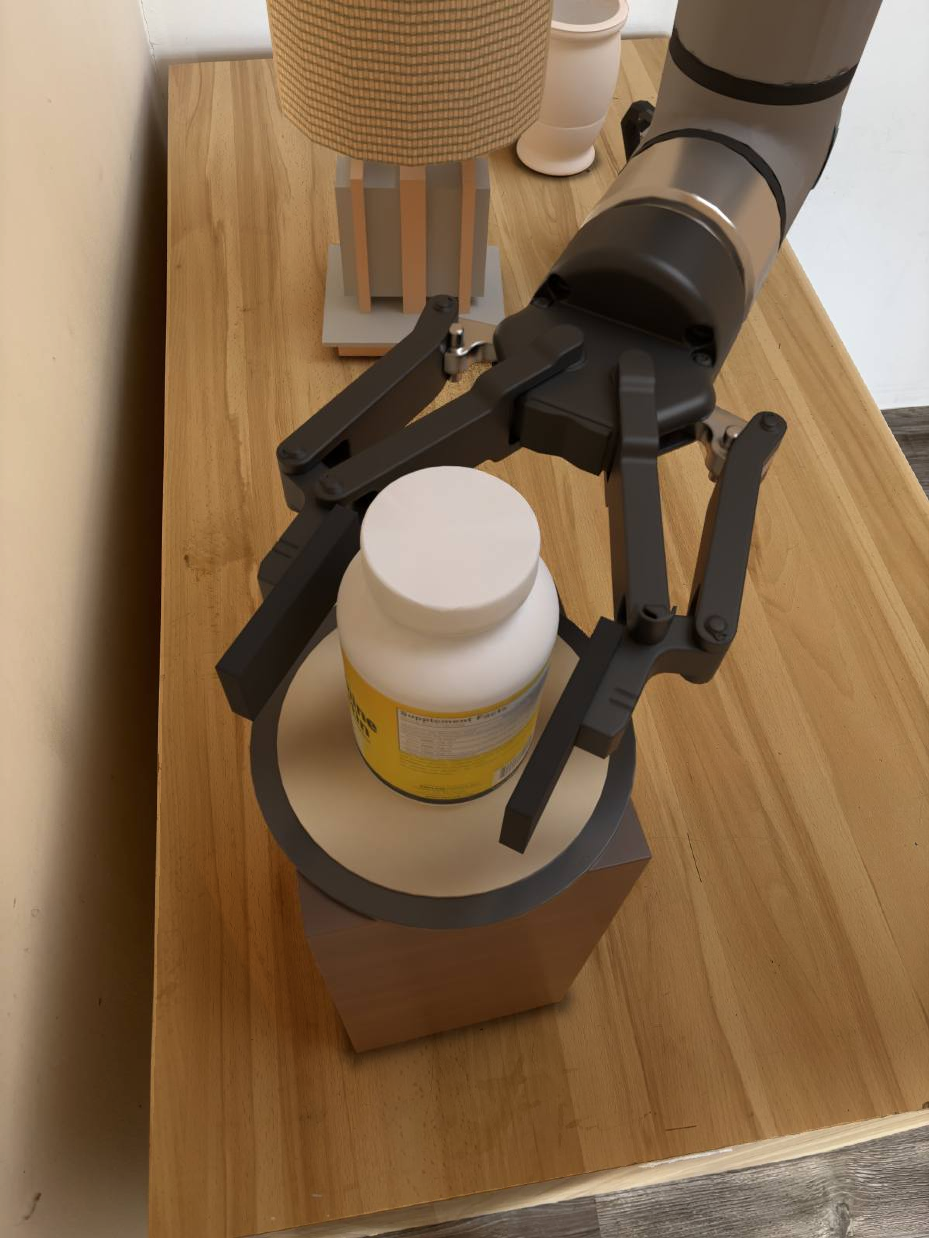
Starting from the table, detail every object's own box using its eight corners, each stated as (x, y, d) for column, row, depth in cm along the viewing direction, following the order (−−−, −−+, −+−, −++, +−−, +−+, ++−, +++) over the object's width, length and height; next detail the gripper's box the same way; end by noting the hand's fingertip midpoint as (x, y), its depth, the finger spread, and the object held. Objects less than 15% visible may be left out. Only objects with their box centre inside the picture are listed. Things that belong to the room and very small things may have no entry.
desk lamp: (300, 389, 80) (225, -100, 50) (313, 245, 90) (257, -229, 61) (528, 389, 81) (587, -91, 51) (514, 247, 91) (556, -220, 62)
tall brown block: (582, 1015, 54) (694, 873, 31) (341, 1077, 51) (275, 973, 29) (518, 791, 61) (572, 545, 38) (304, 837, 59) (228, 606, 36)
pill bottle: (393, 630, 36) (381, 412, 26) (554, 682, 35) (604, 475, 25) (324, 778, 33) (280, 592, 23) (500, 840, 32) (533, 673, 22)
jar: (623, 168, 99) (651, 15, 86) (540, 194, 96) (558, 39, 83) (568, 118, 104) (588, -34, 91) (488, 141, 101) (497, -12, 88)
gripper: (877, 447, 38) (697, 970, 27) (420, 284, 42) (100, 673, 31) (968, 293, 31) (781, 895, 20) (419, 120, 36) (17, 535, 25)
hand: (369, 760), depth 26 cm, fingers open, 8 cm apart
